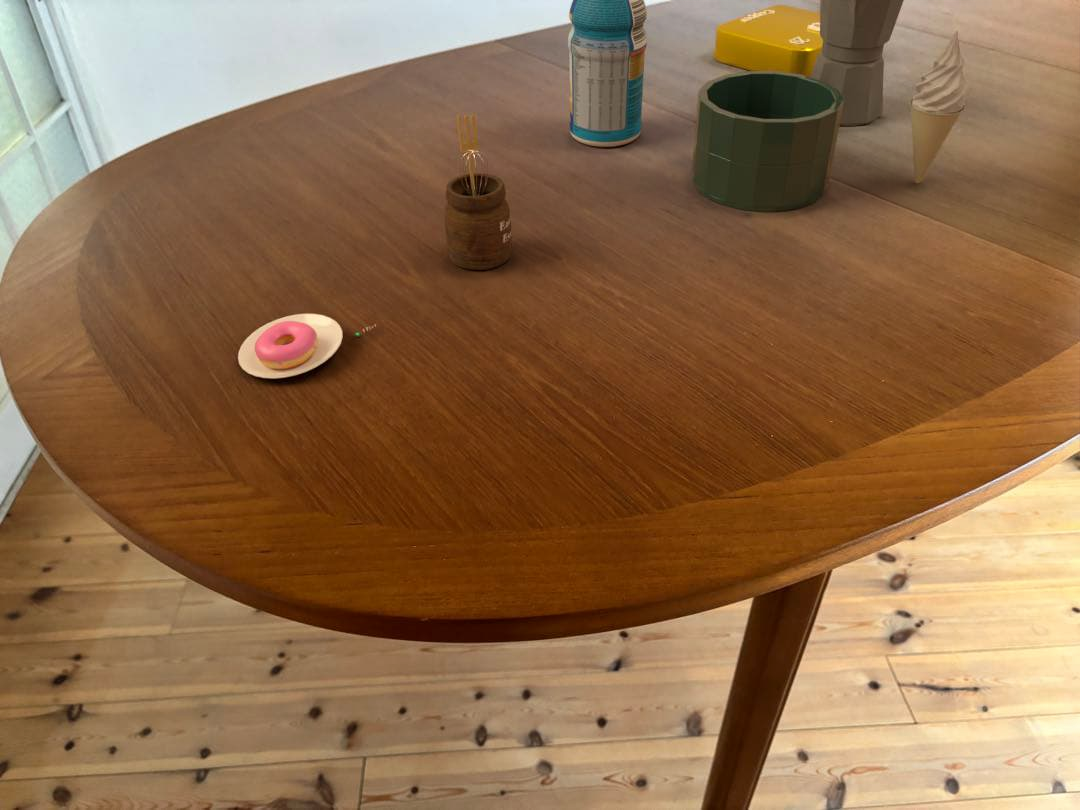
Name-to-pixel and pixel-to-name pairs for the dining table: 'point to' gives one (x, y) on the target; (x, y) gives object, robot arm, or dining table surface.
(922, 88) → the ice cream cone
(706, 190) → the pot
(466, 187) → the utensil holder
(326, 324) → the donut
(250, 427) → the dining table surface
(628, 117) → the beverage bottle
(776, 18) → the element tile
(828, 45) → the coffeepot
